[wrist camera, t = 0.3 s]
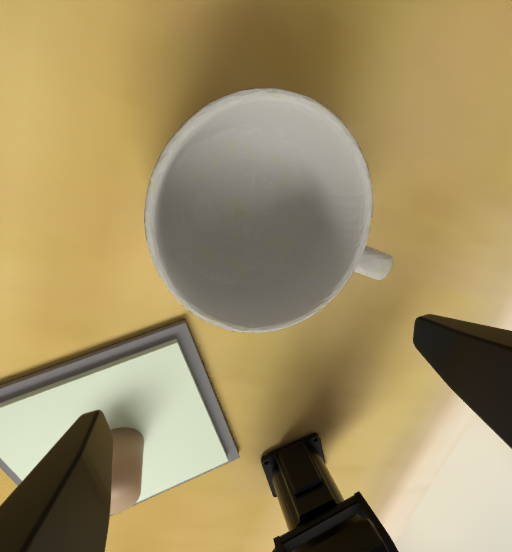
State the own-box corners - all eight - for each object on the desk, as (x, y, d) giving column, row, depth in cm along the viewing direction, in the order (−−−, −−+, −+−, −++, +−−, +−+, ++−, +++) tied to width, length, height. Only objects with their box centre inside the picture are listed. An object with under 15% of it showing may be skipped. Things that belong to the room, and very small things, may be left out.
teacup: (120, 233, 19) (95, 278, 12) (205, 71, 17) (237, 8, 10) (286, 313, 25) (337, 376, 17) (362, 200, 23) (452, 218, 16)
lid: (227, 455, 28) (238, 506, 24) (73, 524, 25) (56, 594, 21) (176, 338, 22) (180, 379, 18) (-30, 413, 19) (-81, 481, 15)
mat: (238, 452, 29) (239, 457, 28) (68, 529, 26) (67, 535, 26) (185, 319, 22) (185, 322, 22) (-52, 403, 19) (-57, 409, 19)
